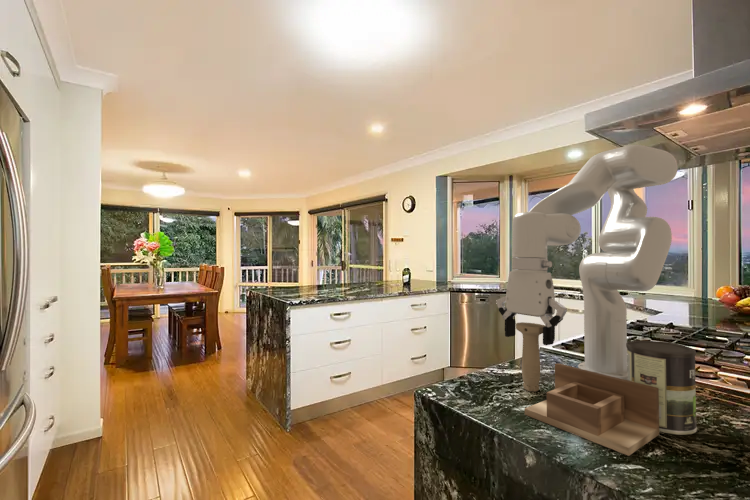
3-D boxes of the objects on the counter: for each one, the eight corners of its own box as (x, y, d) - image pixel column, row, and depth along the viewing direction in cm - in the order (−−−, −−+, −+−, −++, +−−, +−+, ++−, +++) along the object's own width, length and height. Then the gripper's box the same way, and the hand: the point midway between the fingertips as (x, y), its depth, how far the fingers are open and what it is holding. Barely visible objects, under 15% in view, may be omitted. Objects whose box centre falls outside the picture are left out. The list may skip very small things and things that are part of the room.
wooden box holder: (558, 400, 79) (557, 363, 79) (659, 434, 64) (658, 388, 64) (524, 414, 72) (524, 373, 72) (628, 455, 57) (628, 404, 57)
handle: (540, 396, 81) (539, 328, 81) (512, 388, 86) (512, 324, 86) (549, 391, 84) (549, 325, 85) (522, 383, 89) (522, 321, 89)
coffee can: (690, 417, 70) (689, 343, 71) (703, 441, 62) (701, 356, 62) (625, 406, 76) (624, 337, 76) (628, 426, 67) (627, 348, 67)
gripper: (575, 267, 80) (574, 346, 80) (507, 265, 95) (506, 332, 94) (556, 266, 76) (555, 350, 76) (488, 264, 90) (487, 334, 90)
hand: (528, 340), depth 85 cm, fingers open, 9 cm apart
